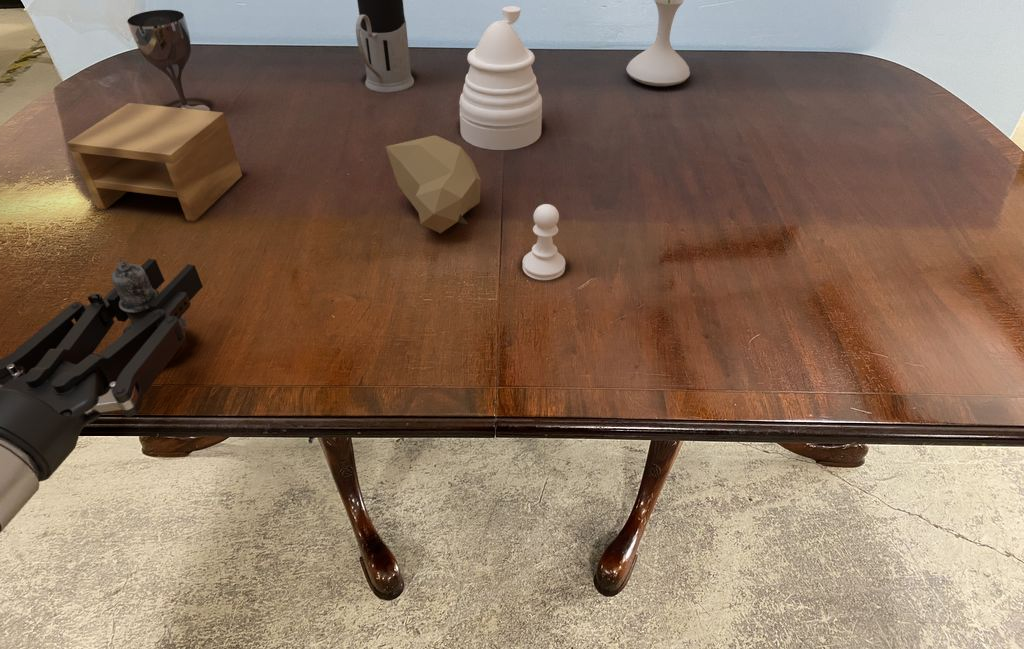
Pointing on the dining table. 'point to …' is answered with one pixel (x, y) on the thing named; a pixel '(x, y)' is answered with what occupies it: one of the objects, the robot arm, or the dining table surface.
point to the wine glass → (165, 45)
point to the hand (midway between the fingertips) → (175, 273)
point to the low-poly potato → (436, 180)
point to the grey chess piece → (135, 293)
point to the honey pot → (501, 90)
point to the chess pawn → (544, 246)
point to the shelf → (158, 156)
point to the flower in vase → (660, 53)
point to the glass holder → (384, 45)
